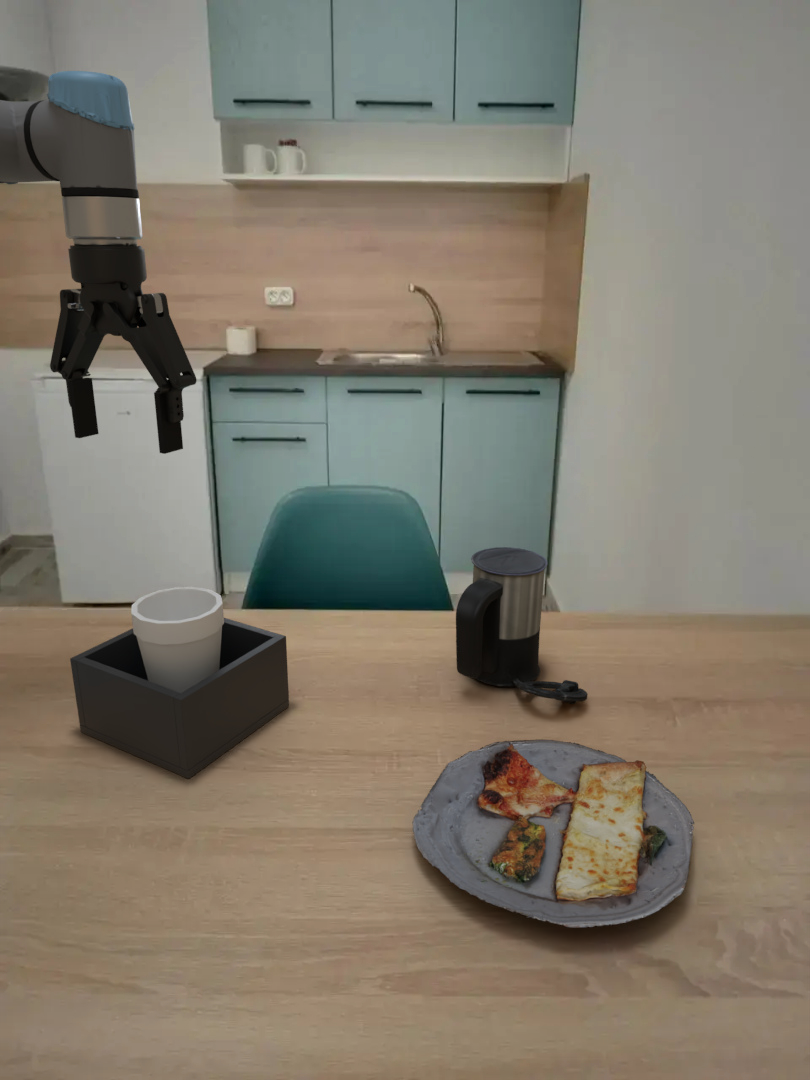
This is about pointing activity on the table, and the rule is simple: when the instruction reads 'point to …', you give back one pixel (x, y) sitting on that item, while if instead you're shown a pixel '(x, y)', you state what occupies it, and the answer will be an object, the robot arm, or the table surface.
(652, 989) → the table surface
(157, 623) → the foam cup
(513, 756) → the food plate
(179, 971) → the table surface
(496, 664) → the milk frother
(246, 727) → the black storage bin
